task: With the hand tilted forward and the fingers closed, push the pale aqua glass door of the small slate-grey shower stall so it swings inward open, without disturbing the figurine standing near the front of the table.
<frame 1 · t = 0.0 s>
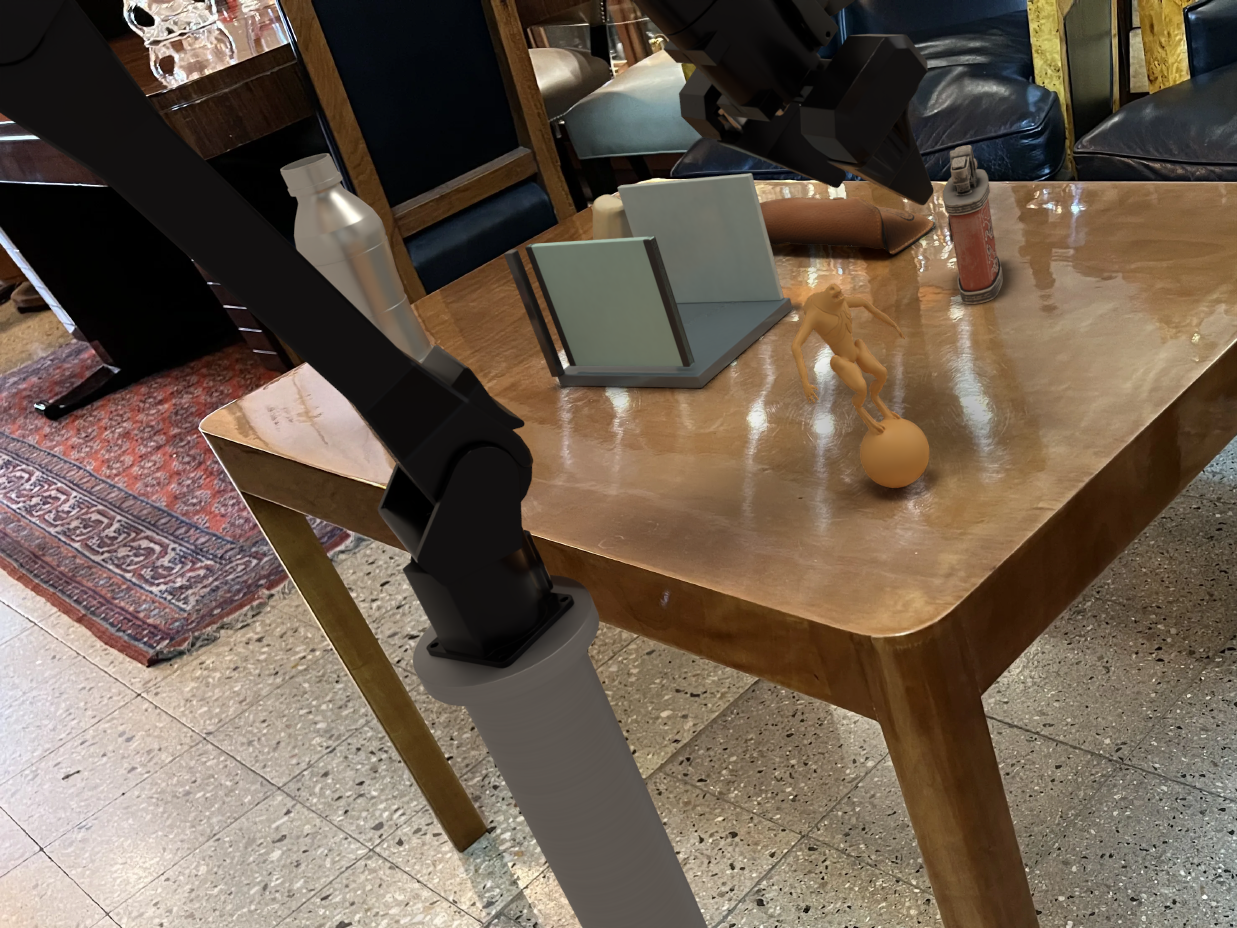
hand: (882, 189, 71), 13 cm above the table, tool tilted 35°, fingers open, 9 cm apart
figurine: (888, 482, 70), on the table
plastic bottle: (422, 414, 97), on the table
sunglasses case: (836, 242, 109), on the table
shower stall: (678, 346, 95), on the table
lighter: (981, 285, 92), on the table
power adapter: (636, 288, 111), on the table
shower door: (609, 304, 88), point 6 cm above the table, hinge at 0.0°
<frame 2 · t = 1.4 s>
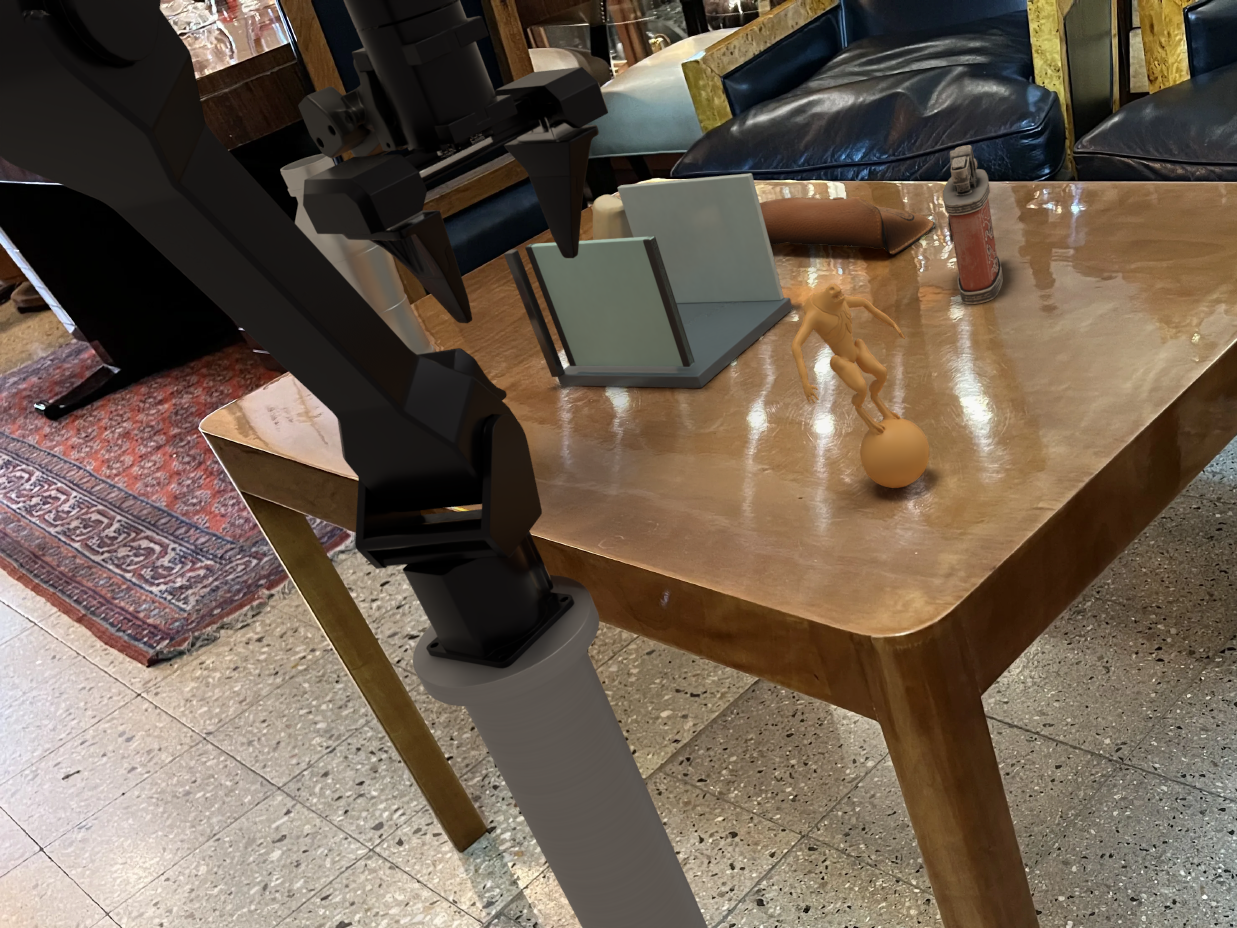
hand: (520, 288, 73), 13 cm above the table, tool pointing down, fingers open, 9 cm apart
nothing on the table moved.
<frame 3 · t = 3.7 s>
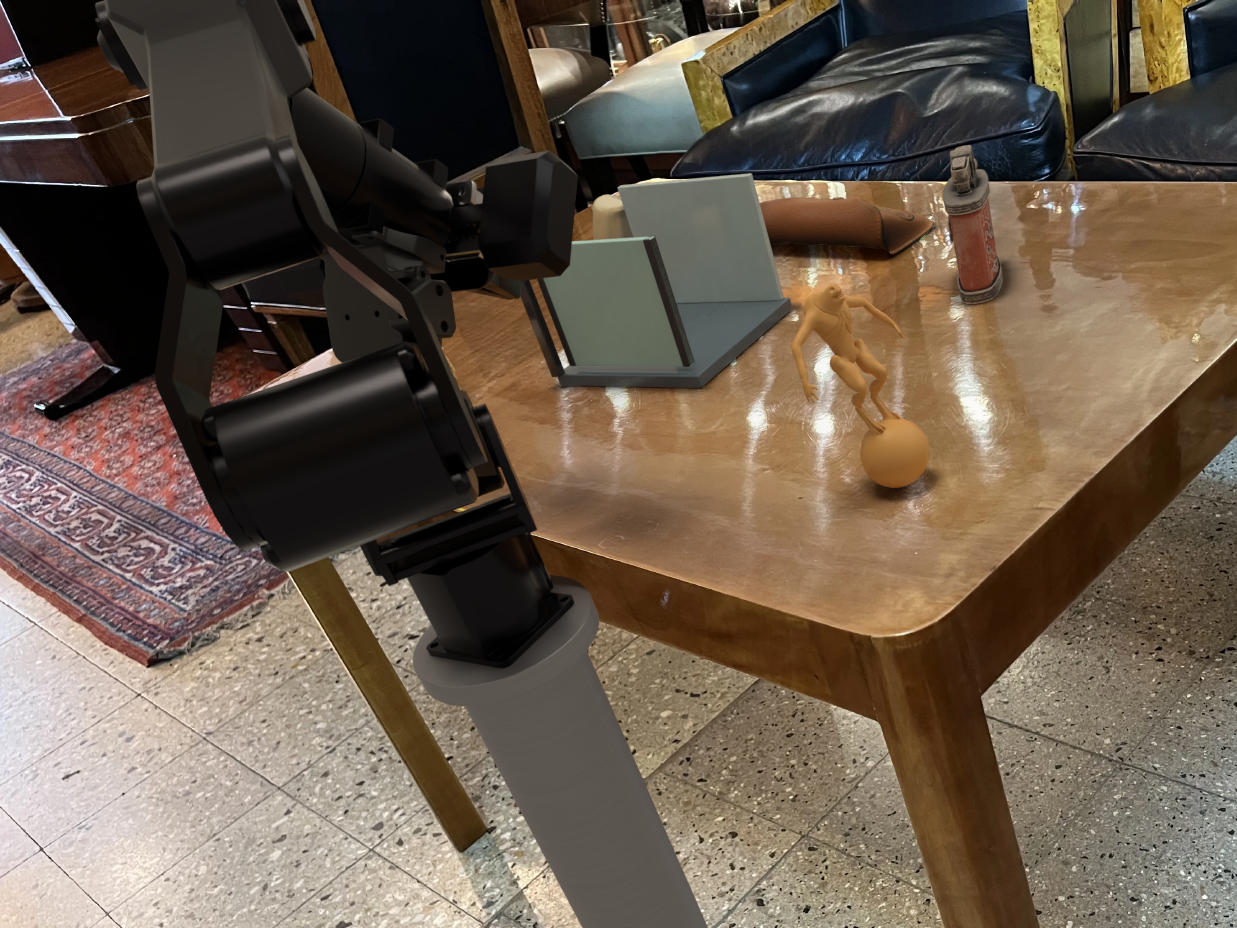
hand: (516, 291, 74), 12 cm above the table, tool tilted 45°, fingers closed
nothing on the table moved.
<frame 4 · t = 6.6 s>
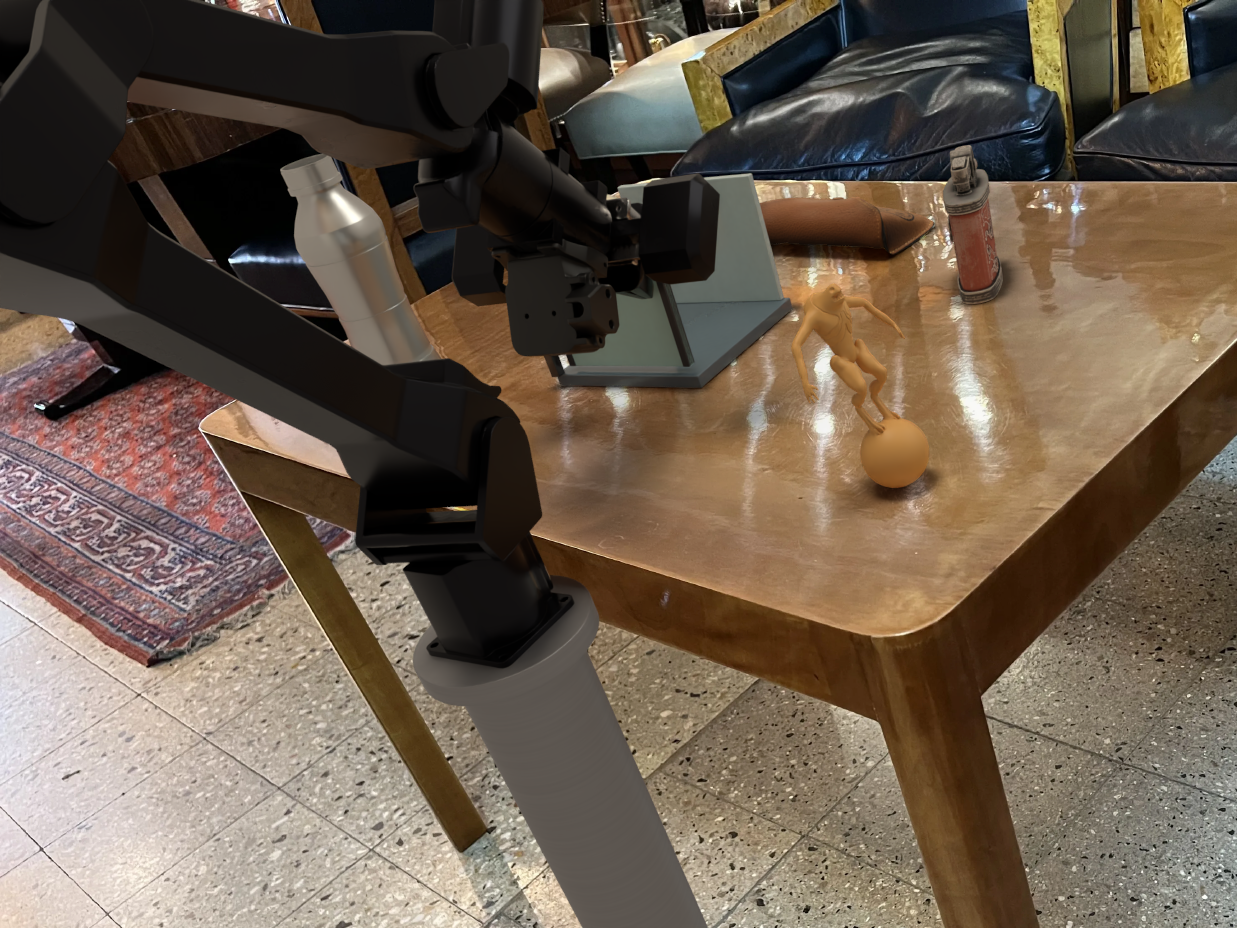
hand: (648, 292, 85), 7 cm above the table, tool tilted 45°, fingers closed, pressing on shower door
shower door: (609, 304, 88), point 6 cm above the table, hinge at 0.0°, touching gripper
everything else where it was.
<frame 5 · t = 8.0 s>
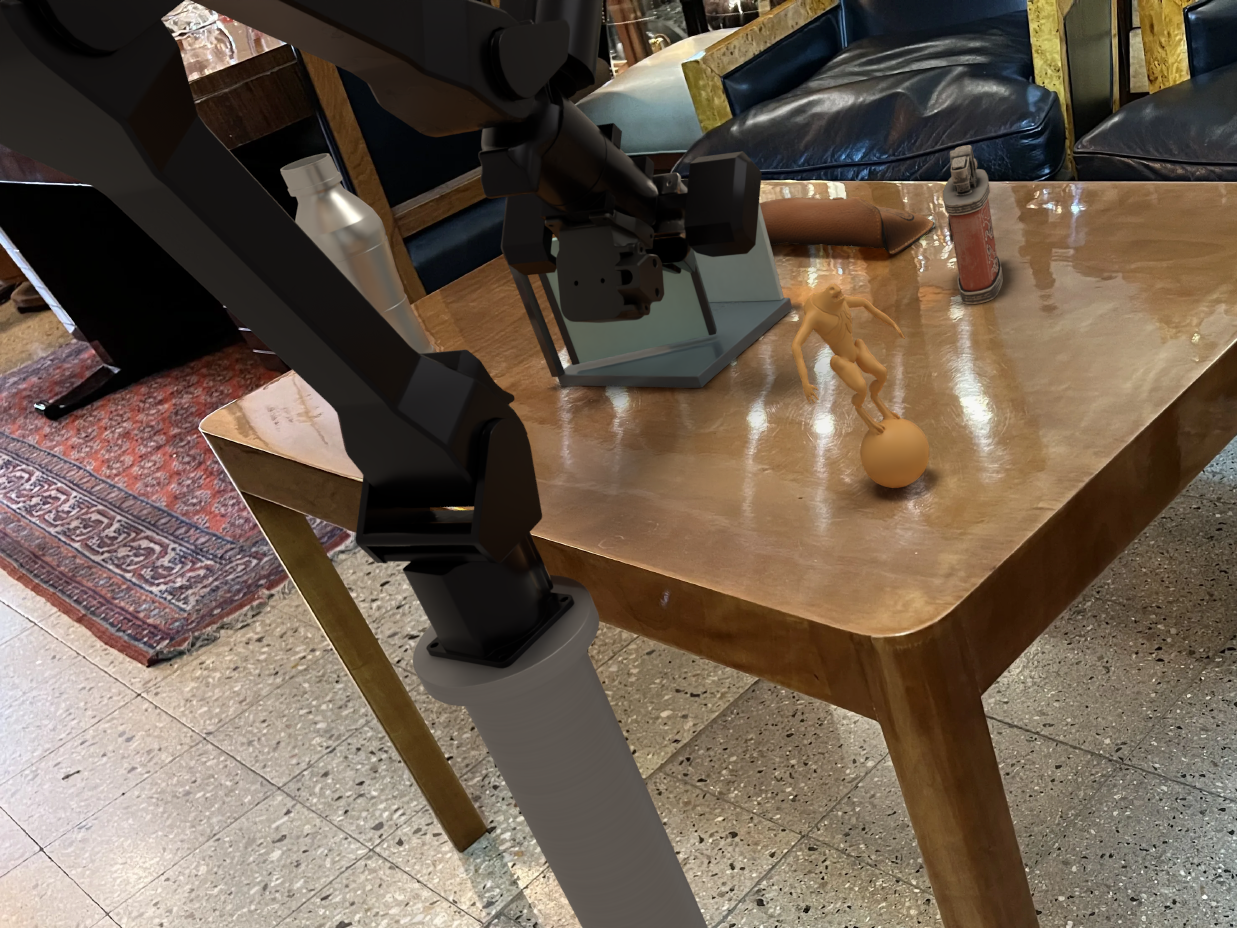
hand: (686, 267, 88), 7 cm above the table, tool tilted 45°, fingers closed
shower door: (624, 289, 90), point 6 cm above the table, hinge at 27.7°, touching gripper
everything else where it was.
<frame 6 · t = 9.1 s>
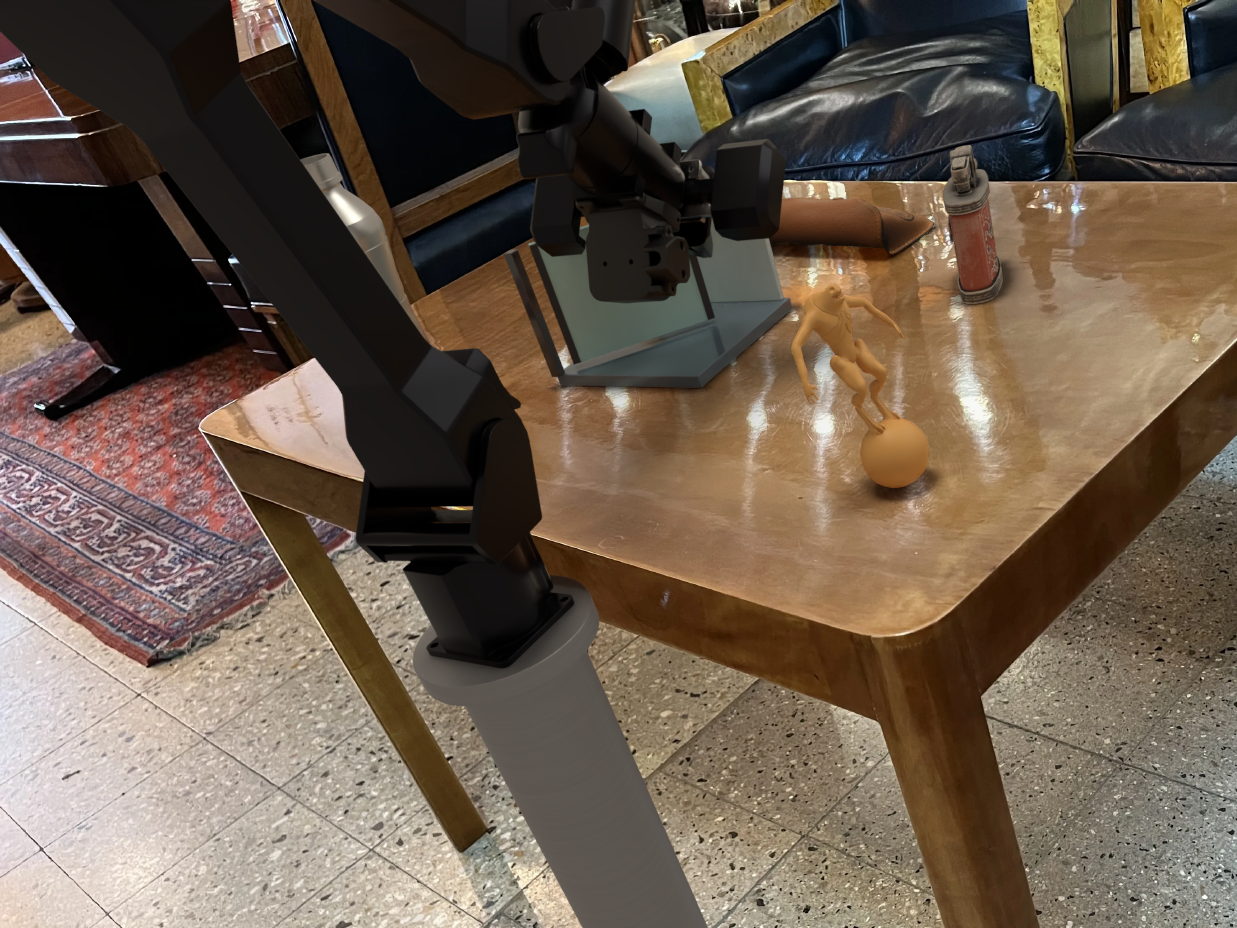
hand: (708, 251, 91), 7 cm above the table, tool tilted 45°, fingers closed
shower door: (624, 281, 92), point 6 cm above the table, hinge at 45.2°
everything else where it was.
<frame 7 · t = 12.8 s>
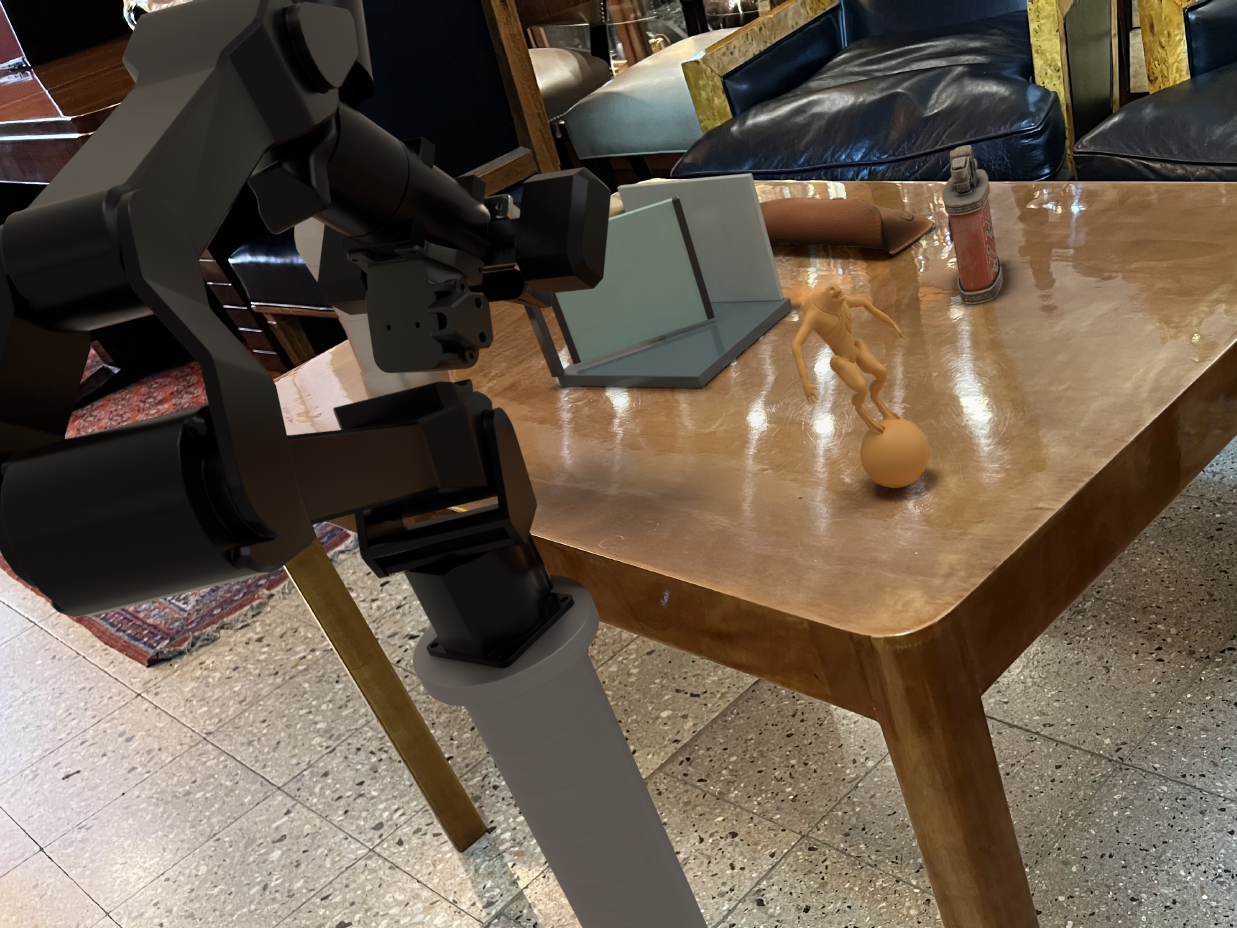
hand: (547, 300, 76), 11 cm above the table, tool tilted 45°, fingers closed
shower door: (624, 281, 92), point 6 cm above the table, hinge at 45.6°
everything else where it was.
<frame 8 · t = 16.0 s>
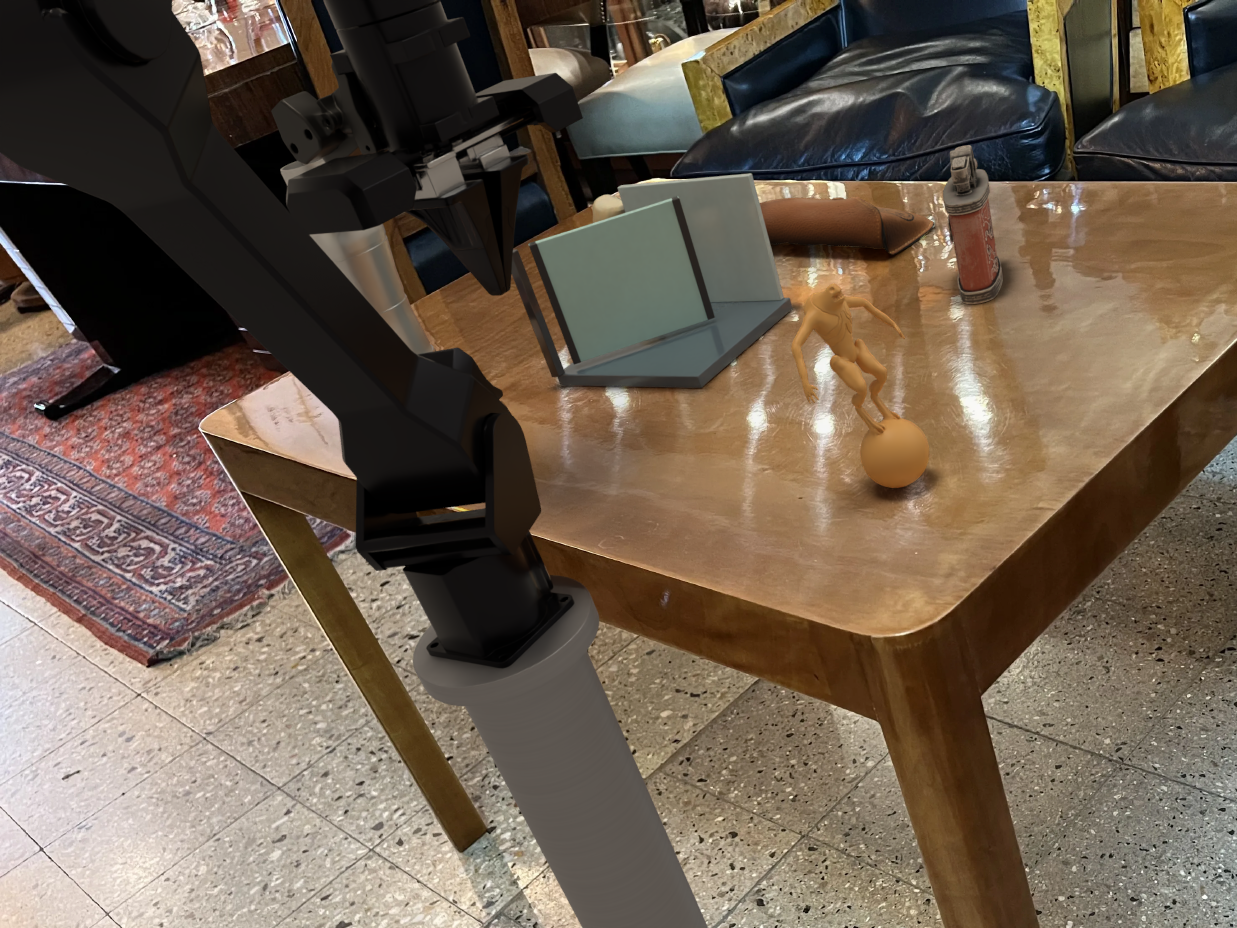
hand: (500, 293, 72), 13 cm above the table, tool pointing down, fingers closed
nothing on the table moved.
at the end: shower door at +46° (first picture: +0°); figurine moved 0.2 cm from its start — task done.
